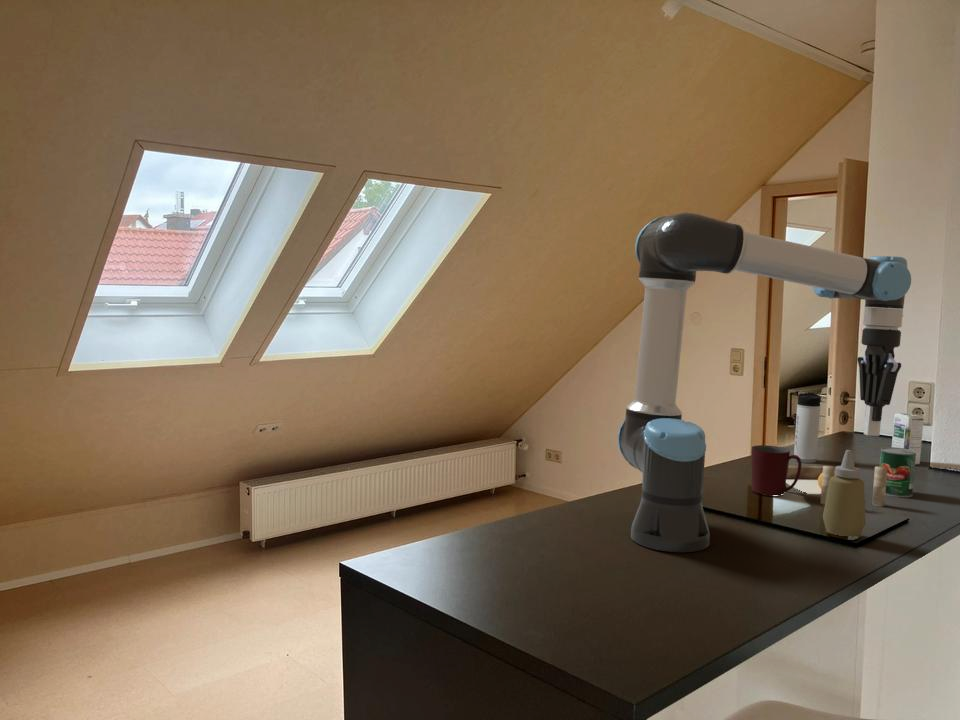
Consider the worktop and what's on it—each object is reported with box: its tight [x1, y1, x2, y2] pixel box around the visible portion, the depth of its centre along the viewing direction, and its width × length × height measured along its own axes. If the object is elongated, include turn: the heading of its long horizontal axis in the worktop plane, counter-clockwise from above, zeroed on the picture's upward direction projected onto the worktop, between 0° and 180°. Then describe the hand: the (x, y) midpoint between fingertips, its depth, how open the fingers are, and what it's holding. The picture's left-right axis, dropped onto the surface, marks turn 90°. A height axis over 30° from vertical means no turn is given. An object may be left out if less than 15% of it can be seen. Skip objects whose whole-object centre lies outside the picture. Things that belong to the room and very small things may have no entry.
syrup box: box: [891, 412, 925, 465], centre depth 235 cm, size 6×6×14 cm
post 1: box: [820, 465, 836, 503], centre depth 187 cm, size 3×3×9 cm
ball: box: [817, 473, 836, 489], centre depth 198 cm, size 6×6×6 cm
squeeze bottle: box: [822, 449, 866, 537], centre depth 162 cm, size 8×8×18 cm
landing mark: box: [786, 479, 821, 495], centre depth 204 cm, size 14×14×1 cm
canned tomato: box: [879, 446, 916, 498], centre depth 199 cm, size 8×8×11 cm
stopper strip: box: [786, 465, 824, 480], centre depth 213 cm, size 16×2×3 cm, turn 93°
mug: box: [750, 444, 802, 495], centre depth 195 cm, size 12×9×11 cm
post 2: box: [871, 465, 887, 507], centre depth 188 cm, size 3×3×9 cm
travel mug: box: [793, 392, 822, 464], centre depth 234 cm, size 6×7×20 cm
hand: (871, 434), depth 175 cm, fingers closed
